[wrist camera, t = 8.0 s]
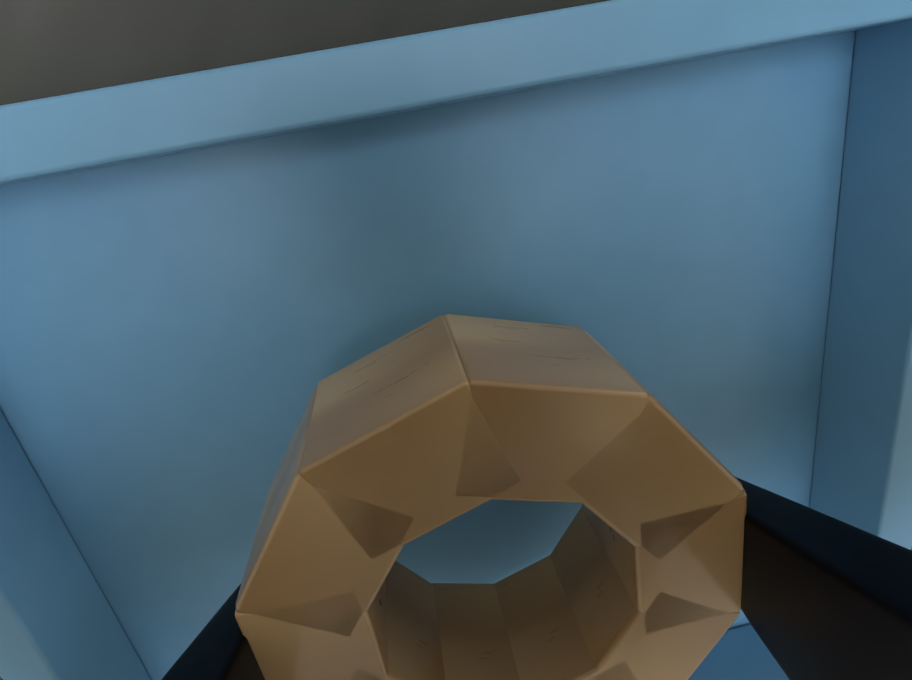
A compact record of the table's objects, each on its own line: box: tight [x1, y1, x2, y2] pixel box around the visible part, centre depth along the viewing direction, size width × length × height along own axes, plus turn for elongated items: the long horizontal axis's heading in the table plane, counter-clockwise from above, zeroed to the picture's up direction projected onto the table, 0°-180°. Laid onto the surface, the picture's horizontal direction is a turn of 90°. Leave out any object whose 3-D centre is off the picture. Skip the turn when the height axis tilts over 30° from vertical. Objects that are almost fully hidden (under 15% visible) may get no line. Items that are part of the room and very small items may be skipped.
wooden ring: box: [235, 314, 747, 680], centre depth 9 cm, size 7×7×2 cm
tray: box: [0, 0, 912, 680], centre depth 10 cm, size 17×15×2 cm
